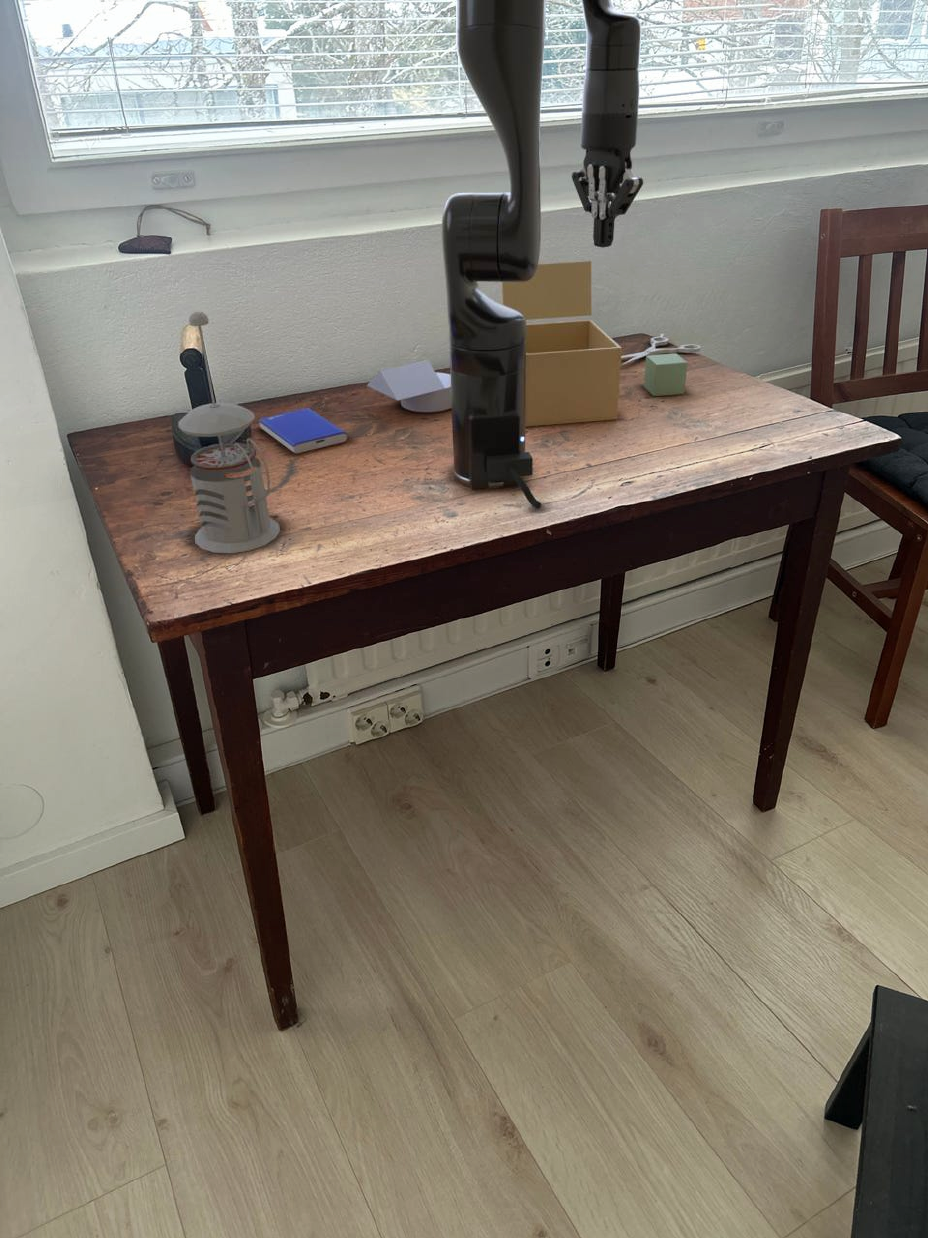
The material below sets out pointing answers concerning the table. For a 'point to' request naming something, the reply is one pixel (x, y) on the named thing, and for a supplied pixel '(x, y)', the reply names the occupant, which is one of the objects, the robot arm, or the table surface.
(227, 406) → the french press
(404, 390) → the wedge on round base
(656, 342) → the scissors
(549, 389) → the carton
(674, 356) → the block
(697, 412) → the table surface
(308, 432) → the hard drive
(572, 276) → the flap
